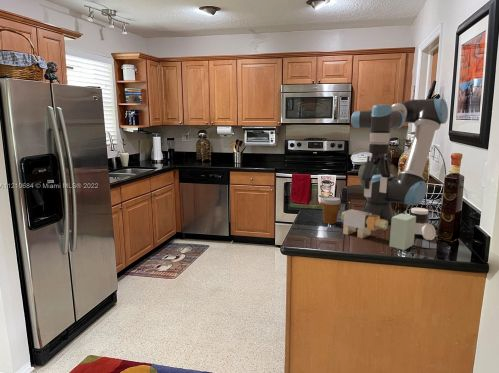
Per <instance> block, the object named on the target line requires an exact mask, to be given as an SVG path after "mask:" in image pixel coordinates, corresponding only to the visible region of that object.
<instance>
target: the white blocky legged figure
mask: <svg viewBox="0 0 499 373" xmlns="http://www.w3.org/2000/svg"><path fill="white" fill-rule="evenodd" d="M363 211H364V210H363ZM363 211H361V210H356V209H353V208H352V209H348V210H344V211H343V212H344V220H343V223H342V224H343V225H342V229H343V230H342V234H344V235H348V236H349V235H350V234H353V233H355V232H357V235H356V236H357V237H356V238H359V239H364V238H367V237H369V236H370V235H371V233H372V232H371V231H372V230H368V229H367V226H366V225H365V219H366V216H371V215H372V213H368V212H363Z"/></svg>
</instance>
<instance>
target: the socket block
mask: <svg viewBox="0 0 499 373" xmlns="http://www.w3.org/2000/svg"><path fill="white" fill-rule="evenodd" d="M393 216H394V217H392V220H391V223H390V231H389V232H390V236H389V245H388V246H389V247H390V248H391V247H392V248H395V249H398V250H402V251H405V250H407V249H409V248H410V247H412V246H414V243H415V242H414V240H415V237H414V234H415V223H416V216H413V215H410V214H408V213H407V214H406V213H402V212H401V213H398V214H396V215H393Z"/></svg>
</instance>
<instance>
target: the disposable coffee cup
mask: <svg viewBox="0 0 499 373" xmlns="http://www.w3.org/2000/svg"><path fill="white" fill-rule="evenodd" d="M320 201H321V207H322V208H321V209H322V210H321V211H322V217H323V218H322V219H323V221H322V222H323V223H324V224H327V223H328V224H330V225H333V224H334V223H335V224H337V220H338V215H339V210H340V205H341V203H342V201H341V198H340V197H336V196H323V197H321V199H320Z"/></svg>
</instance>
